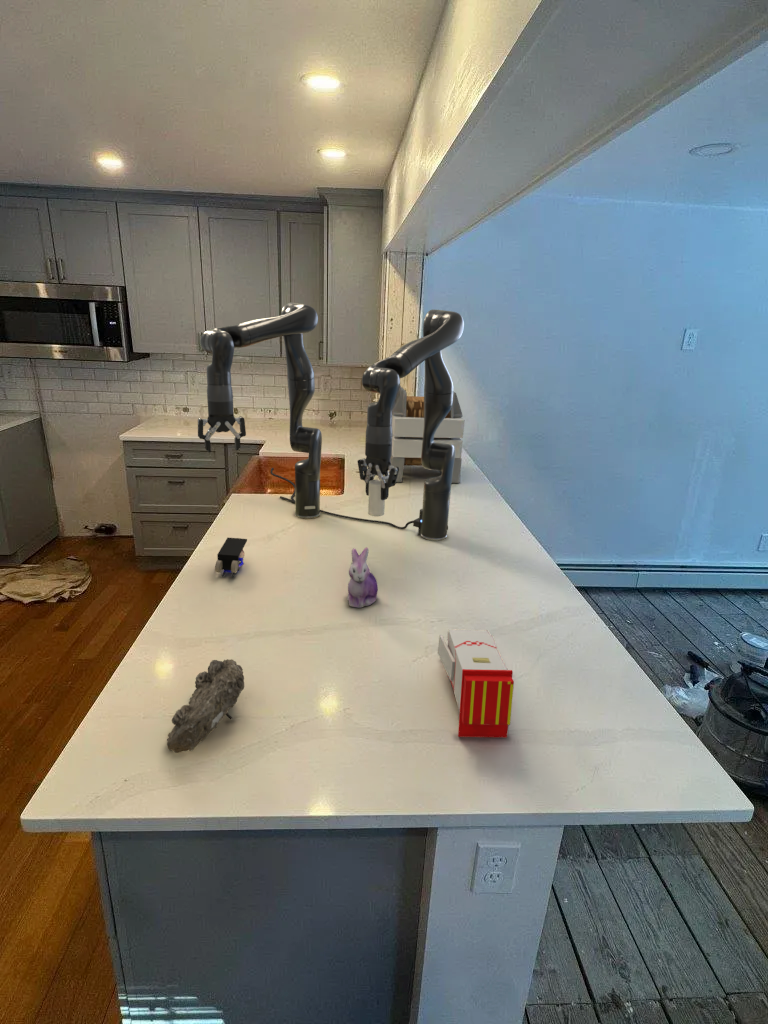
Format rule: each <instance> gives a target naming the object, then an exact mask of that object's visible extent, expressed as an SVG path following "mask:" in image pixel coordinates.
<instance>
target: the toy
mask: <svg viewBox="0 0 768 1024" xmlns="http://www.w3.org/2000/svg"><path fill="white" fill-rule="evenodd" d="M446 640H447V643H446V641H445V639H444V636H443V635H442V634H439V637H438V646H437V656H438V657H439V659H440V661H441V663H442V666H443V668H444V670H445V672H446V674H447V677H448V679H449V681H450V684H451V687H452V690H453V693H454V697H455V701H456V705H457V708H458V711H459V714H458V715H459V716H458V730H457V731H458V732H457V737H458V738H508V731H509V726H510V725H511V717H512V707H513V697H514V696H513V695H514V684H515V680H514V679H513V673H514V671H513V670H512V669H508V667H507V665H506V662H505V661H504V659H503V658H502V655H501V653H500V651H499V649H498V647H497V643H496V639H495V637H494V635H493V634H491V632H490V631H489V629H467V628H466V629H465V628H463V629H461V628H460V629H459V628H448V630H447V639H446Z"/></svg>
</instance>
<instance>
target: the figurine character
mask: <svg viewBox="0 0 768 1024" xmlns="http://www.w3.org/2000/svg"><path fill="white" fill-rule="evenodd" d="M247 542H248V538H240V537H226V539H225V541H224V543H223V544H222V546H221V547H220V549H219V551H218V552H217V560H216V562H215V564H214V572H215V573H221V577H222V578H224V577H225V576H226V574H227V573H230V574H231V573H232V574H231V578H234V577H235V575H236V573H237V572H239V571H240V567H242V566H243V565H244V564H245V562H244V558H245V551H244V547H245V546H246V544H247Z"/></svg>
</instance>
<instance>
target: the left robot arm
mask: <svg viewBox="0 0 768 1024" xmlns="http://www.w3.org/2000/svg"><path fill="white" fill-rule="evenodd" d="M318 323H319V317H318V312H317V310H316V309H315V308H314V307H313V306H311V305H309V304H306V303H300V302H293V301H292V302H291V301H290V302H287V303H285V304H284V305H283V307H282V309H281V313H280V315H277V316H271V317H270V316H269V317H263V318H261V317H260V318H253V319H250V320H246V321H242V322H239V323H236V324H233V325H226V326H220V327H215V328H211V329H207V330H205V331H204V332H203V333H202V334H201V337H200V340H199V343H200V347H201V348H202V350H203V351H204V352H206V353H207V354H210V355H212V357H211V363H208V364H207V366H206V383H207V384H206V395H207V396H206V400H207V414H208V416H207V418H201V417H198V418H197V437H198V438H199V439H200V440H204V449H205V450H206V451H207V453H211V452H212V447H211V446H212V445H211V440H210V439H212V436H213V435H215V433H228V432H229V431H230V432H231V434H232V435H233V436H234V450H235V451H239V450H240V449H241V438H243V437H246V436H247V432H246V431H247V430H246V421H245V417H243V416H241V415H240V416H237V417H235V414H234V413H235V412H234V392H233V387H232V372H231V371H232V370H231V369H232V365H233V361H234V354H235V348H238V349H239V348H241V349H242V348H247V347H250V346H254V345H256V344H260V343H263V342H267V341H269V340H273V339H276V338H281V337H283V342H284V351H285V361H286V362H285V363H286V378H287V390H288V391H287V392H288V401H289V446H290V449H291V450H292V451H294V452H296V453H304V454H308V458H306V459H302V460H299V461H297V462H296V463H295V464H294V482H292V480H290V479H288V478H286V477H284V476H281V475H278V474H275V473H274V470H275V469H274V467H271V468H270V475H272V476H273V477H276V478H279V479H281V480H283V481H286V482H287V483H289V484H291V485H292V486H293V493H291V496H290V499H291V500H294V501H295V503H294V509H295V510H294V511H295V512H294V515H295V517H297V518H300V519H305V520H306V519H315V518H318V517H320V516H321V512H320V510H321V464H322V448H323V433H322V430H321V429H319V428H317V427H308V426H303V416H304V413H305V410H306V408H307V407H308V405H309V404H310V402H311V400H312V399H313V397H314V395H315V392H316V385H315V384H316V382H315V370H314V368H313V365H312V363H311V361H310V359H309V356H308V354H307V351H306V349H305V344H304V336H303V334H309V333H311V332H313V331H314V330H315V329H316V327H317V326H318ZM235 423H237V424H238V425H239V432H237V430H236V429H235V428H234V427H233V426H234V425H235ZM206 424H208V425H209V428H208V429H207V431H206V433H205V434H204V427H205V426H206Z"/></svg>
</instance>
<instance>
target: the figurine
mask: <svg viewBox="0 0 768 1024" xmlns="http://www.w3.org/2000/svg"><path fill="white" fill-rule="evenodd" d="M368 556H369V547H367V546H366V547H364V549H362V551H361V553H360V554H359V553H358V550H357V549H356V548H355V547H354V548H352V549H351V565H349V569H348V575H349V577H350V580H349V581H348V584H347V585H348V586H347V593H348V594H347V597H346V599H347V601H348V606H350V607H353V608H359V609H360V608H363V607H368V606H370V605H372V604H373V603H375V602H376V601H377V596H378V593H379V586H378V580H377V578H376V577H375V575H374V574H373V573H372V572H371V570H370V567H369V565H368V561H367V559H368Z"/></svg>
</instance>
